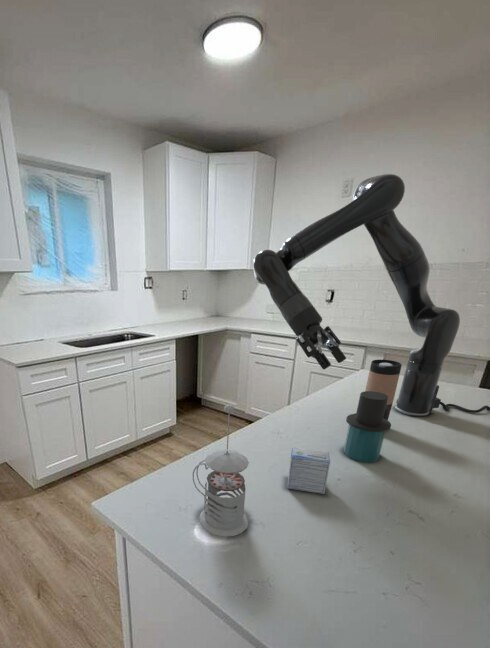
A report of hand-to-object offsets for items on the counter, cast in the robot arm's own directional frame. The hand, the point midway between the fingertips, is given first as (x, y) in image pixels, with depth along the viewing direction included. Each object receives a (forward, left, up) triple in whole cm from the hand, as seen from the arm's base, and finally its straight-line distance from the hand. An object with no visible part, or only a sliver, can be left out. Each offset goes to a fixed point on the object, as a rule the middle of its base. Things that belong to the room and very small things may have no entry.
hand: (335, 364), depth 93 cm
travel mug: (-19, -6, -23) cm, 30 cm away
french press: (+37, +29, -23) cm, 52 cm away
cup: (-6, +9, -22) cm, 25 cm away
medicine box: (+15, +21, -23) cm, 34 cm away
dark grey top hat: (-6, +9, -15) cm, 19 cm away
